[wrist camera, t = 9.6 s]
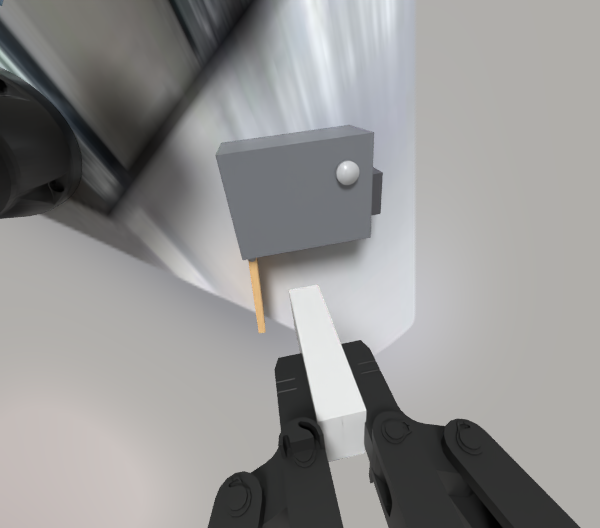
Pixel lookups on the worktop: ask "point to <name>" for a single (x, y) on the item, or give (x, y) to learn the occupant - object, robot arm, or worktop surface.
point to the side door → (257, 293)
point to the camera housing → (300, 189)
